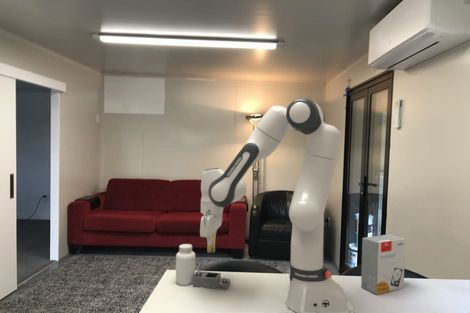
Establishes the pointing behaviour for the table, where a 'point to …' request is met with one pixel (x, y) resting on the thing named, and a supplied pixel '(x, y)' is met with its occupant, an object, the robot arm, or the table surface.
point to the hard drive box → (382, 263)
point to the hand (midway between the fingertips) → (211, 242)
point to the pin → (211, 247)
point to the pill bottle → (185, 265)
